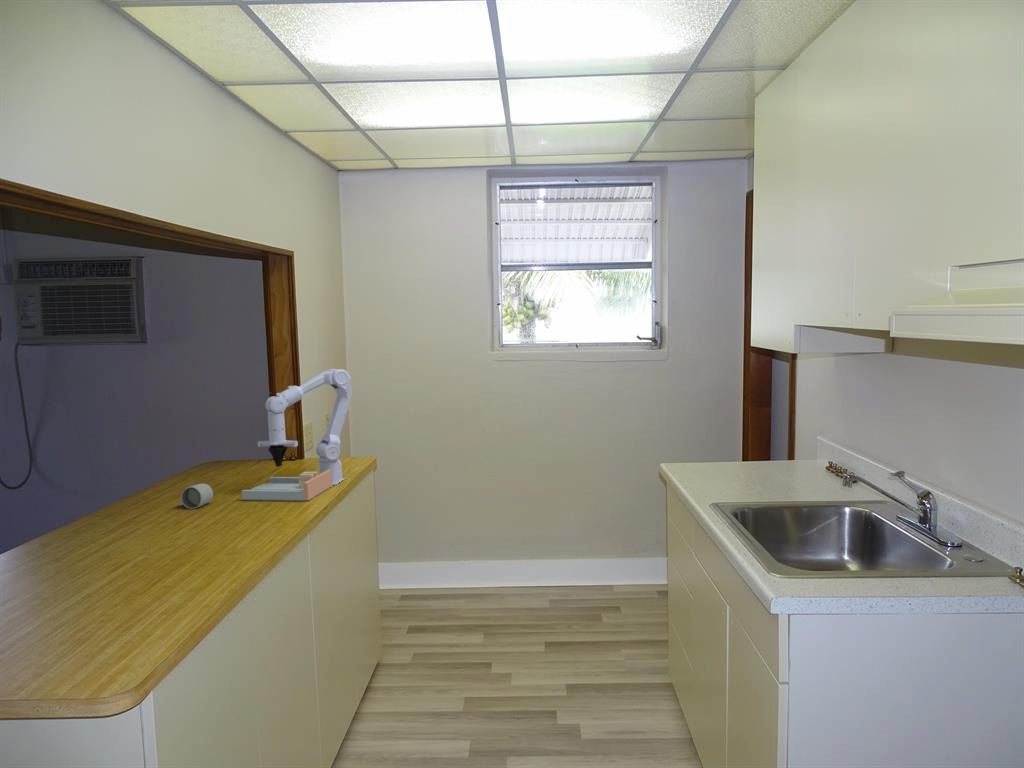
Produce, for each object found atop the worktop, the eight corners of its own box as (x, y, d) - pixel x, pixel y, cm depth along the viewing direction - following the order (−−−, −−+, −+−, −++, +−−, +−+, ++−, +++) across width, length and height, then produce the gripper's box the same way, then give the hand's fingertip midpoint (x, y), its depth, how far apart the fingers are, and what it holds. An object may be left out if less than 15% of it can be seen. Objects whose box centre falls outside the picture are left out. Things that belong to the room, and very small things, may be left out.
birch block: (305, 485, 248) (304, 471, 248) (318, 485, 247) (317, 471, 247) (299, 488, 243) (298, 474, 243) (312, 488, 243) (311, 474, 242)
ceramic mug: (215, 502, 237) (213, 481, 236) (202, 509, 228) (200, 486, 228) (187, 503, 238) (185, 481, 237) (173, 509, 230) (171, 487, 229)
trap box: (271, 485, 259) (270, 469, 258) (332, 486, 255) (331, 469, 255) (242, 500, 238) (241, 482, 238) (308, 501, 235) (307, 483, 234)
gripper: (252, 431, 245) (254, 468, 246) (290, 431, 243) (292, 468, 245) (262, 428, 252) (264, 464, 253) (299, 427, 250) (301, 464, 252)
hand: (279, 466), depth 250 cm, fingers closed
